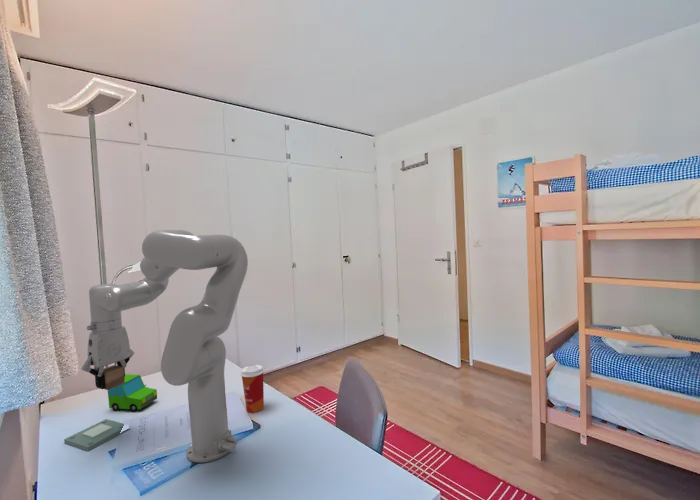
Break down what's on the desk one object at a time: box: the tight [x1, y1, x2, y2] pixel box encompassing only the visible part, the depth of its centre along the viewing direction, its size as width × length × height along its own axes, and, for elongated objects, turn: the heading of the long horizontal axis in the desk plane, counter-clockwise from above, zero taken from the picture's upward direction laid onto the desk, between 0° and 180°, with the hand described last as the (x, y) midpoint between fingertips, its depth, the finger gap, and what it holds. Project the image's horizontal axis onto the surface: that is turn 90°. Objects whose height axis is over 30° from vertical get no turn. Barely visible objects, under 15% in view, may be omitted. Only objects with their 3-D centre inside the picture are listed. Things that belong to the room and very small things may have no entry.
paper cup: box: [240, 364, 265, 414], centre depth 118 cm, size 8×8×14 cm
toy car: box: [107, 373, 158, 413], centre depth 126 cm, size 10×13×10 cm
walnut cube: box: [103, 364, 125, 391], centre depth 106 cm, size 5×5×5 cm
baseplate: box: [63, 418, 125, 452], centre depth 107 cm, size 12×12×2 cm
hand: (111, 383), depth 106 cm, fingers closed on walnut cube, 5 cm apart
